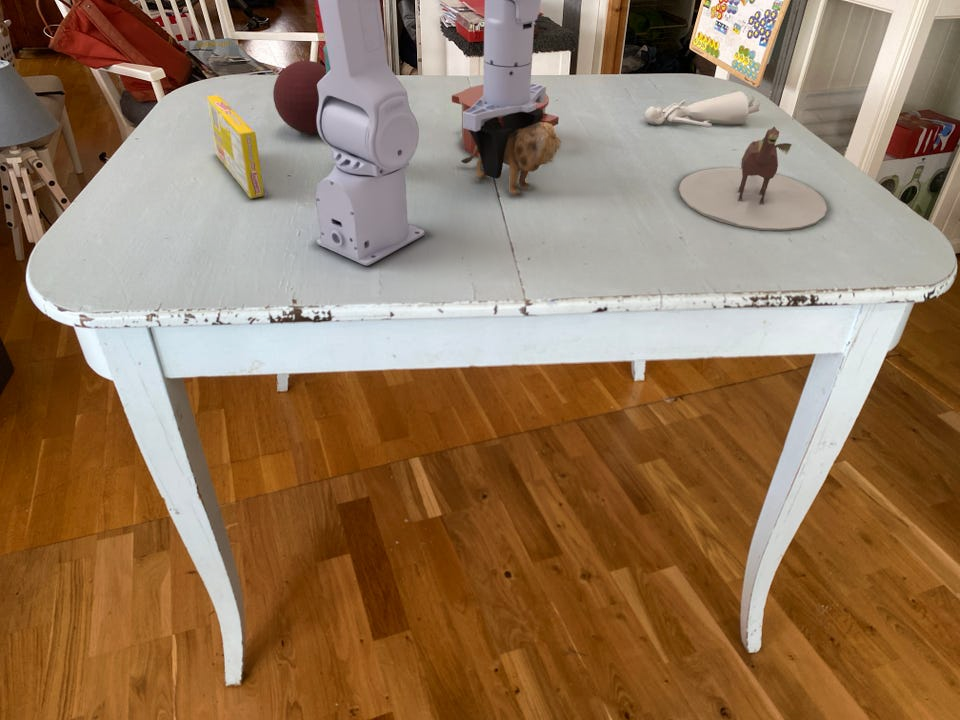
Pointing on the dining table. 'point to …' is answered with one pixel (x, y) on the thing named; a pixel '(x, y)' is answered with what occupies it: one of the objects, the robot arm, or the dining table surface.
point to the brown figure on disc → (754, 192)
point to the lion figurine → (525, 153)
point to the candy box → (236, 146)
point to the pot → (467, 137)
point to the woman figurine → (706, 111)
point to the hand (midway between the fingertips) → (503, 170)
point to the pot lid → (476, 92)
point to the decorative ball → (299, 95)
